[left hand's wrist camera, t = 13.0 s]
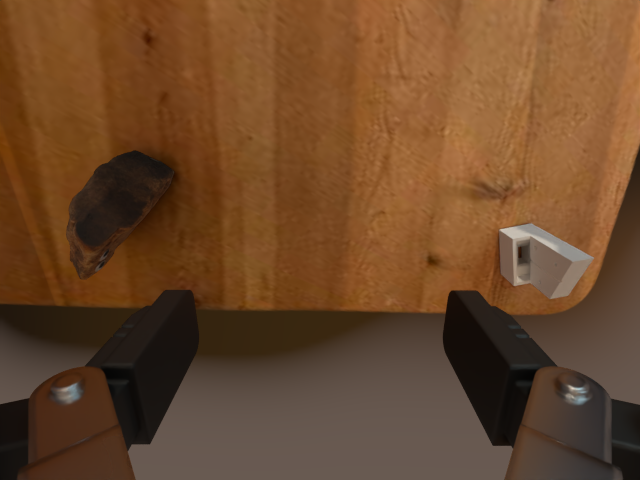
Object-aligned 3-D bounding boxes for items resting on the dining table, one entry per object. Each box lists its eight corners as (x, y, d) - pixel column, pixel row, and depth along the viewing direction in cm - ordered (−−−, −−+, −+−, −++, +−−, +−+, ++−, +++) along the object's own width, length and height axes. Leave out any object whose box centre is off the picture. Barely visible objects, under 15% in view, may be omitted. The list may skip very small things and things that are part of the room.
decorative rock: (132, 252, 42) (73, 297, 32) (85, 220, 41) (8, 257, 31) (187, 174, 39) (142, 198, 29) (139, 137, 38) (73, 148, 28)
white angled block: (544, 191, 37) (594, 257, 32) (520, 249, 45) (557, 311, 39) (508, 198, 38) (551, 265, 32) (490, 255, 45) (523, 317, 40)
